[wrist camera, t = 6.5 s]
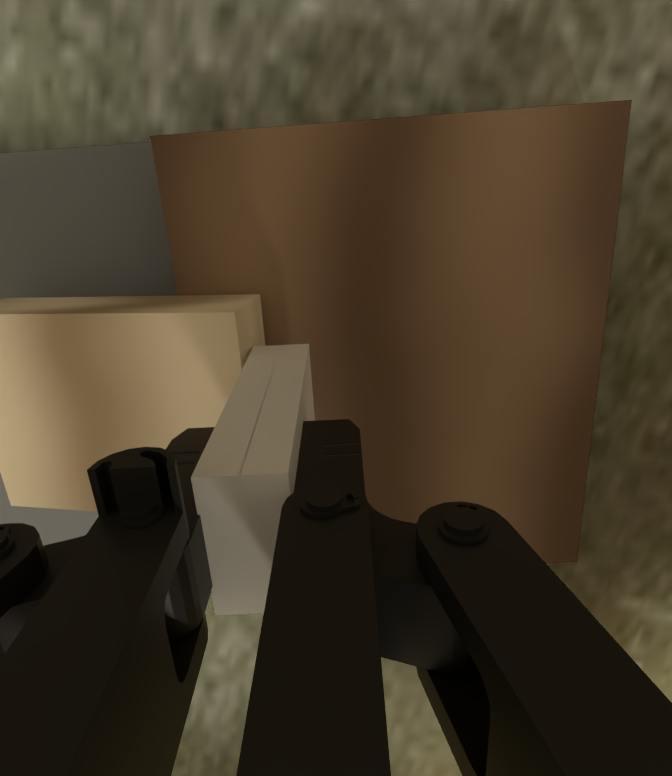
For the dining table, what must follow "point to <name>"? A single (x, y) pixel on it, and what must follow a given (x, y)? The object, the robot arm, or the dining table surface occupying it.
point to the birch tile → (110, 382)
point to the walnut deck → (425, 289)
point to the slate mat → (80, 251)
